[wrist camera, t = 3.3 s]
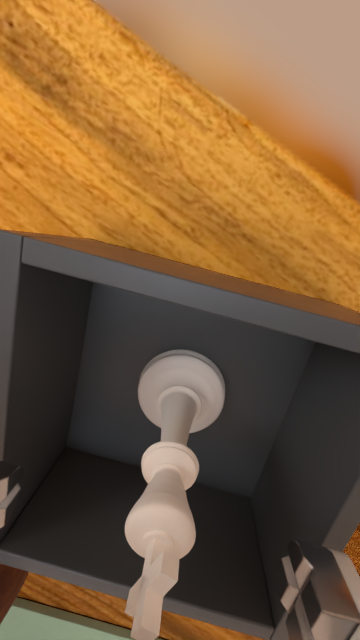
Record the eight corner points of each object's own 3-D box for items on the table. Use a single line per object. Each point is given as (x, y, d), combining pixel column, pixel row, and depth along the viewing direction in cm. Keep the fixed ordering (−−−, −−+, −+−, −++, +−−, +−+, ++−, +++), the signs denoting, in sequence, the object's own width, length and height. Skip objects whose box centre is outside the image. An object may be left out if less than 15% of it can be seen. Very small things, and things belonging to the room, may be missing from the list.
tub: (339, 304, 14) (460, 352, 7) (256, 499, 18) (287, 647, 11) (91, 238, 14) (-5, 228, 8) (59, 444, 18) (-25, 557, 11)
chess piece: (123, 399, 16) (-4, 642, 6) (167, 332, 14) (93, 501, 5) (194, 441, 16) (182, 736, 6) (242, 379, 15) (322, 629, 5)
